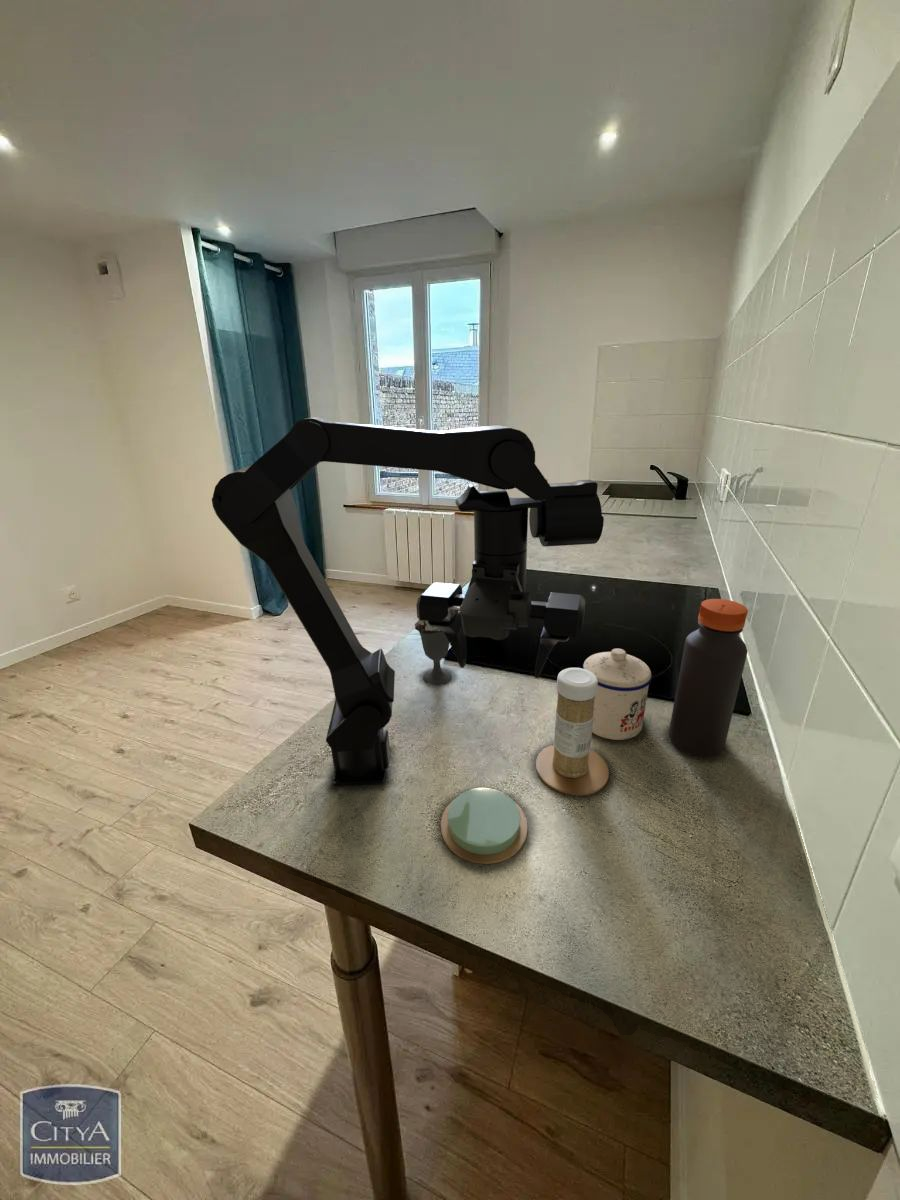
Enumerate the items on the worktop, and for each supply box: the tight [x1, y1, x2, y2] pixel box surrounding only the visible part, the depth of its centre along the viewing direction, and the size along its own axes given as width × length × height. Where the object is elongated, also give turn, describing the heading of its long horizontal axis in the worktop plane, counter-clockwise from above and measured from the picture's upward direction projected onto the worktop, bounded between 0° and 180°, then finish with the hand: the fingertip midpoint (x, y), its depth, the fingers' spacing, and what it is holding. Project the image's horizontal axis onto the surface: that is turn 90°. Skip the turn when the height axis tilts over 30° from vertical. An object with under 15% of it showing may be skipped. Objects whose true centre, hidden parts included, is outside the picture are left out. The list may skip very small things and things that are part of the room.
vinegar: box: [668, 598, 749, 758], centre depth 60 cm, size 7×7×20 cm
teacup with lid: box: [582, 648, 653, 741], centre depth 67 cm, size 12×9×12 cm
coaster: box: [535, 744, 610, 796], centre depth 60 cm, size 9×9×1 cm
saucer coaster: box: [440, 800, 528, 865], centre depth 52 cm, size 10×10×1 cm
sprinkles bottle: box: [552, 667, 598, 778], centre depth 57 cm, size 5×5×13 cm
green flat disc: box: [448, 787, 520, 855], centre depth 52 cm, size 8×8×1 cm
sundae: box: [414, 619, 453, 685], centre depth 78 cm, size 7×7×15 cm
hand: (499, 671), depth 58 cm, fingers open, 9 cm apart
